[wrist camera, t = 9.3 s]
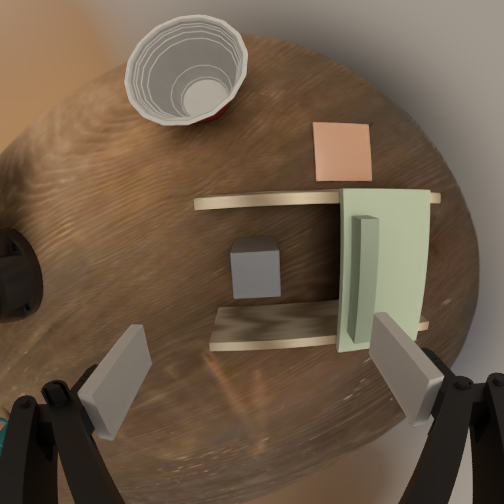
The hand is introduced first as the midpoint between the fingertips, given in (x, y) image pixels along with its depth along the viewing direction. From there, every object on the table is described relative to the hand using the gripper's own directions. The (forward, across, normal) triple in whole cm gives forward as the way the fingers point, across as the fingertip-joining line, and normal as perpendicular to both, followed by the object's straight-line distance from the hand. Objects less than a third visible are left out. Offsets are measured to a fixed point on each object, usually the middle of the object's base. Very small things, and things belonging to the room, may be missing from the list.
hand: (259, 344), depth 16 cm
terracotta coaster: (+20, +11, +12) cm, 26 cm away
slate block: (+20, 0, 0) cm, 20 cm away
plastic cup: (+21, -5, +19) cm, 28 cm away
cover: (+11, +12, 0) cm, 16 cm away
